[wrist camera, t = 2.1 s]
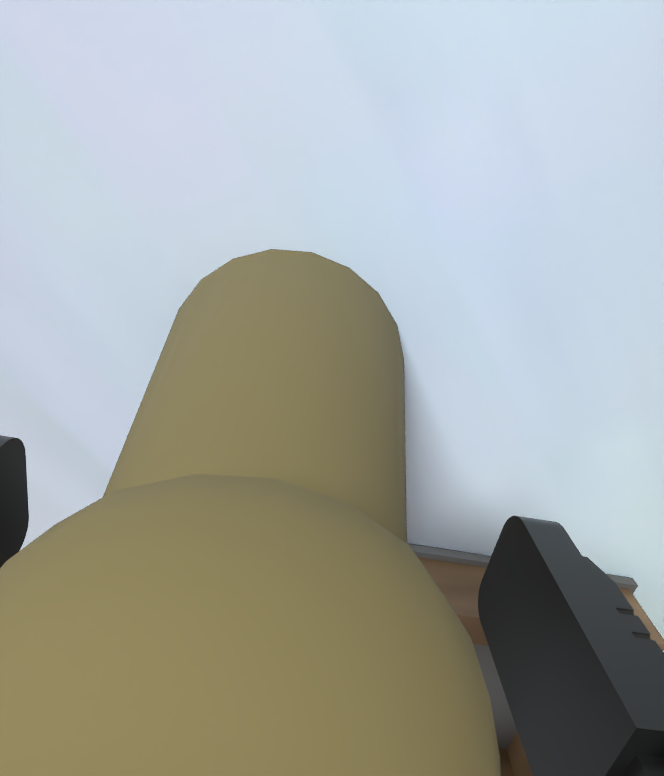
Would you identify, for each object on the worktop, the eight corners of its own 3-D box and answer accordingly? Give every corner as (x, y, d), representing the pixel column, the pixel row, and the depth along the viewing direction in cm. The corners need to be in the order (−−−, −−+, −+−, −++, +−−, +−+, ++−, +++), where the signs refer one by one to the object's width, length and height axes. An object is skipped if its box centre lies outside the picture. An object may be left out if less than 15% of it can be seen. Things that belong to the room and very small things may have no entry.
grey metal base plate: (191, 510, 15) (169, 567, 13) (632, 578, 16) (677, 640, 14) (157, 823, 22) (139, 893, 20) (468, 853, 23) (482, 922, 21)
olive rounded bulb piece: (352, 207, 12) (505, 552, 2) (434, 423, 14) (696, 1096, 4) (122, 306, 13) (-654, 910, 3) (235, 494, 15) (53, 1183, 5)
